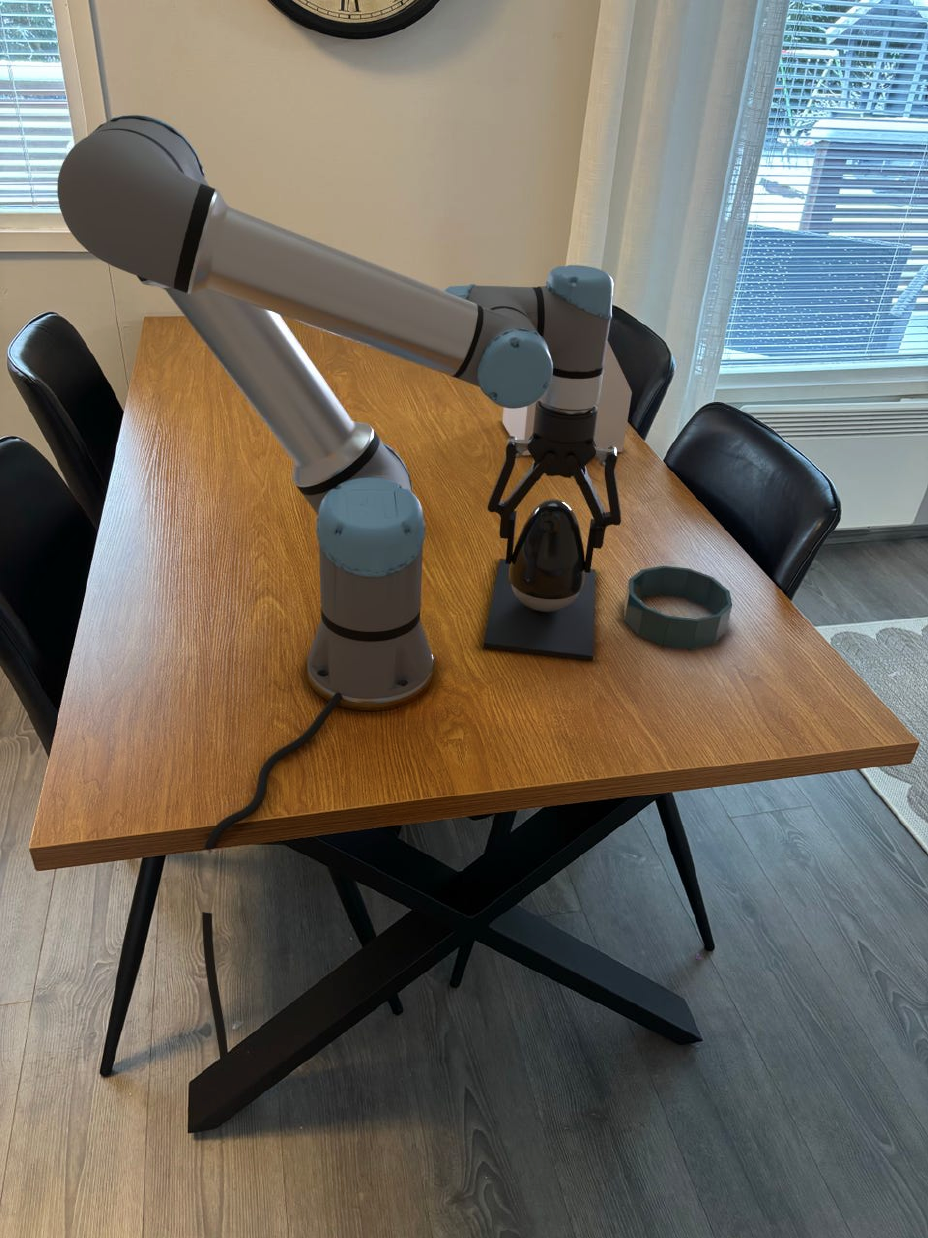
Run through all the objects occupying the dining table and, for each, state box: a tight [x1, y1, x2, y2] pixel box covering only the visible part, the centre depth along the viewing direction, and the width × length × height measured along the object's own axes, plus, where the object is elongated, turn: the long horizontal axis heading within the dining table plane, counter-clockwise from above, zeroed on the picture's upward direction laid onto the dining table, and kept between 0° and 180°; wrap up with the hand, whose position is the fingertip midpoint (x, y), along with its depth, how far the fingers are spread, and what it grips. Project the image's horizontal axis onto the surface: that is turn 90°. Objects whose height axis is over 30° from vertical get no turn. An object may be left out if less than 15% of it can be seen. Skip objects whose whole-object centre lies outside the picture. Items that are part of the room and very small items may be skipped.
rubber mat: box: [482, 558, 596, 662], centre depth 132 cm, size 22×14×1 cm, turn 173°
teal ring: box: [623, 565, 733, 650], centre depth 130 cm, size 14×14×4 cm
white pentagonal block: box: [502, 339, 633, 456], centre depth 176 cm, size 19×15×25 cm
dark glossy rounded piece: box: [509, 498, 586, 612], centre depth 127 cm, size 10×10×15 cm
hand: (548, 563), depth 128 cm, fingers closed on dark glossy rounded piece, 10 cm apart
